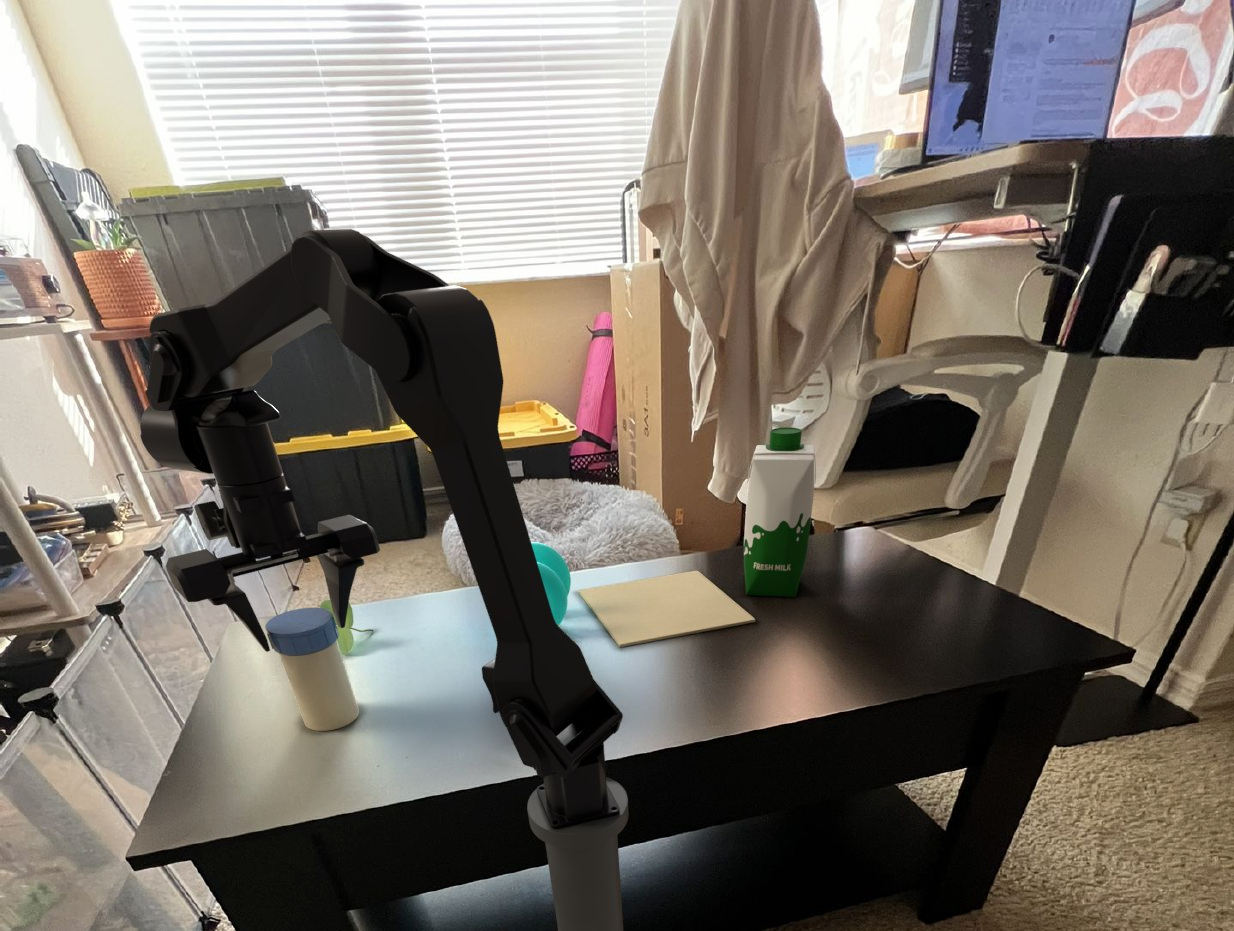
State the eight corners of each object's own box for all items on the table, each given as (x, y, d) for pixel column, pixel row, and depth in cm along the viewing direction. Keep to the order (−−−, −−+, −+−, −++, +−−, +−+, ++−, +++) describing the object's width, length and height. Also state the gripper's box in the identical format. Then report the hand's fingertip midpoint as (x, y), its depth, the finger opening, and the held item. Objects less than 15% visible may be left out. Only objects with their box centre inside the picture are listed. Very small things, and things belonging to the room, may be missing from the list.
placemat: (755, 622, 96) (755, 619, 96) (619, 647, 92) (619, 644, 92) (697, 572, 111) (697, 570, 111) (578, 592, 107) (578, 590, 107)
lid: (339, 648, 74) (332, 627, 72) (271, 660, 73) (263, 638, 71) (338, 623, 79) (332, 603, 77) (274, 634, 78) (267, 613, 76)
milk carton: (803, 576, 107) (820, 426, 95) (802, 600, 101) (820, 441, 88) (743, 575, 109) (753, 427, 97) (738, 598, 102) (748, 442, 90)
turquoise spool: (574, 609, 102) (567, 537, 96) (570, 639, 94) (562, 563, 88) (504, 612, 102) (493, 540, 96) (494, 643, 95) (481, 567, 88)
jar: (360, 724, 80) (330, 631, 73) (303, 735, 79) (268, 641, 72) (358, 699, 84) (330, 609, 77) (305, 709, 83) (271, 618, 76)
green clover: (369, 673, 100) (330, 667, 95) (346, 625, 102) (307, 617, 96) (401, 643, 97) (364, 635, 91) (378, 594, 99) (339, 583, 93)
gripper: (316, 447, 75) (357, 593, 85) (120, 484, 66) (191, 642, 76) (360, 463, 68) (399, 620, 78) (147, 507, 59) (222, 677, 69)
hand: (305, 638), depth 76 cm, fingers open, 8 cm apart
